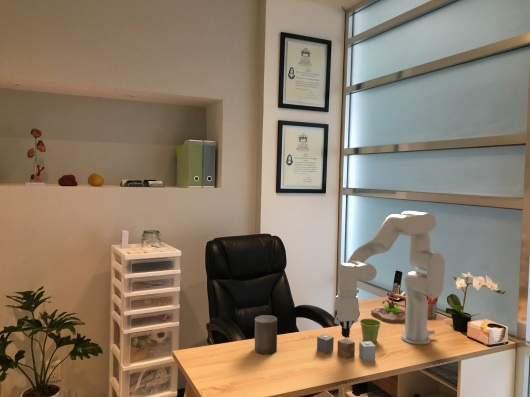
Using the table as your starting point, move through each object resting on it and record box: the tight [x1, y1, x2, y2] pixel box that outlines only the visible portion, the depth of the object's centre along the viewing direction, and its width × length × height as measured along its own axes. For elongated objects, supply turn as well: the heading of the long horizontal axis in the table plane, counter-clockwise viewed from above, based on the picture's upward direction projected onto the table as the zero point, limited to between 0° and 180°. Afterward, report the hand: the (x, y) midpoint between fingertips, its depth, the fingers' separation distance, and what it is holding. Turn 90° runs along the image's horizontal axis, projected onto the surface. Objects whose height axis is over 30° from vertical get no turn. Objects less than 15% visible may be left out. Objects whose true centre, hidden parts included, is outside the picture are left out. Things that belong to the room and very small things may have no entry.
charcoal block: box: [316, 333, 334, 355], centre depth 178 cm, size 5×5×6 cm
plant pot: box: [359, 318, 382, 344], centre depth 190 cm, size 9×9×9 cm
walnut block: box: [336, 338, 356, 360], centre depth 174 cm, size 5×5×6 cm
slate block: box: [358, 340, 376, 362], centre depth 172 cm, size 5×5×6 cm
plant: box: [370, 295, 406, 324], centre depth 224 cm, size 20×20×11 cm
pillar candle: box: [254, 314, 278, 355], centre depth 178 cm, size 10×10×15 cm
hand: (345, 336), depth 173 cm, fingers closed
